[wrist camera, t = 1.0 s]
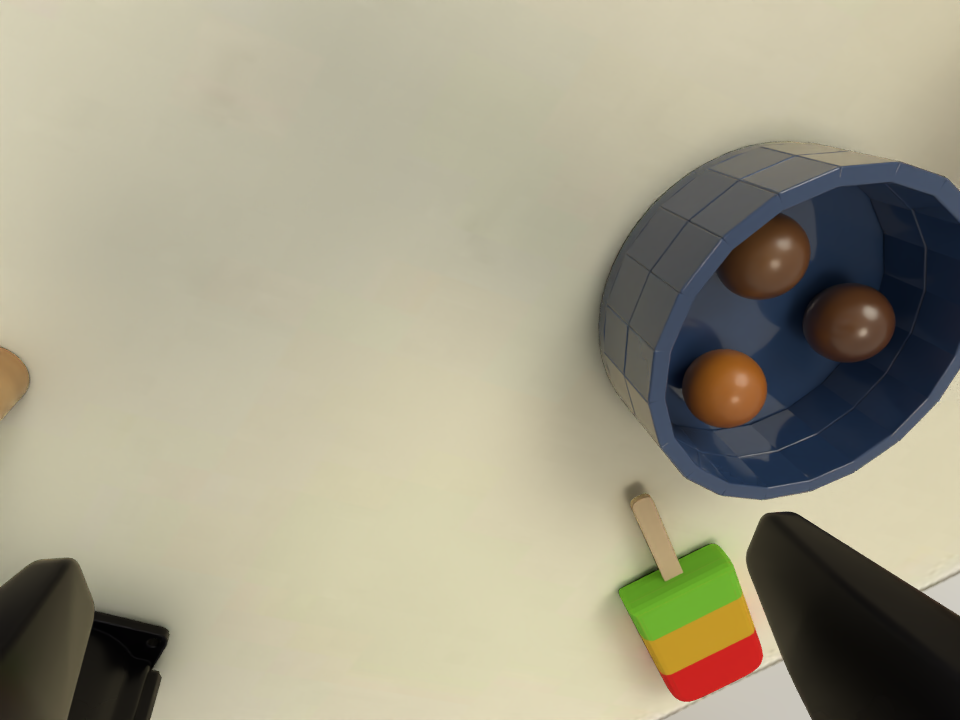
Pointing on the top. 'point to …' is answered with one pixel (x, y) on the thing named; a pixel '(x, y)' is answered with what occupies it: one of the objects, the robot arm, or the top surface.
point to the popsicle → (691, 613)
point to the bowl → (786, 313)
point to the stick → (11, 380)
